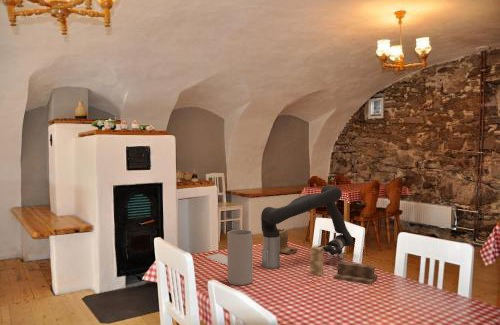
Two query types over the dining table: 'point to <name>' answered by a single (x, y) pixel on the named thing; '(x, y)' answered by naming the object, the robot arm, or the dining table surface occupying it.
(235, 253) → the cylinder vase
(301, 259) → the dining table surface
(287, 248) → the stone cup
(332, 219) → the robot arm
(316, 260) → the tan tall block
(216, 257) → the baseboard
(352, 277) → the walnut ridge
